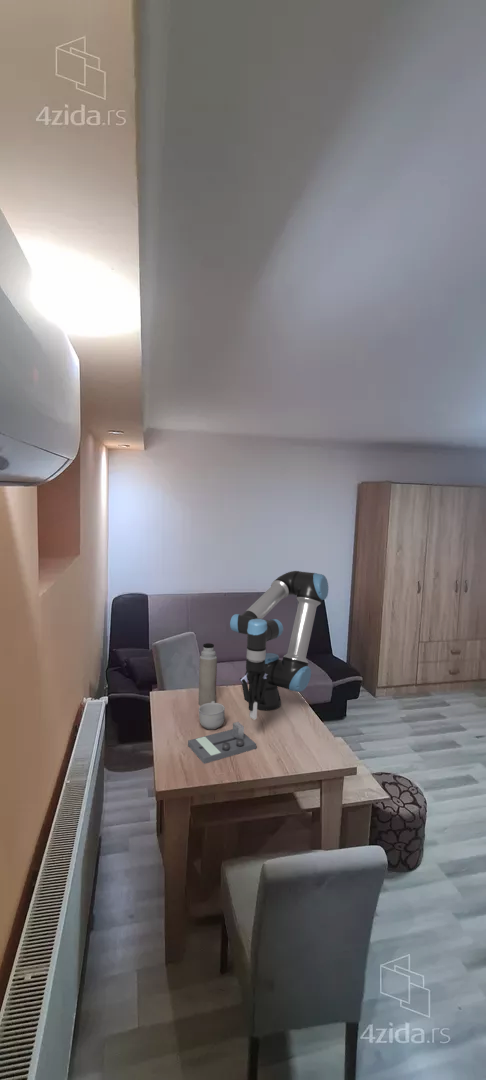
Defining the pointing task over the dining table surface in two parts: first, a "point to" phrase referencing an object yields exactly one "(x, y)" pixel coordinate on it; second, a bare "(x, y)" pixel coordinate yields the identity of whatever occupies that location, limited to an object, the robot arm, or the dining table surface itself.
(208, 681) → the thermos bottle
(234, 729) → the fader cap
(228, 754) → the console
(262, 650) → the robot arm
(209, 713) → the teacup
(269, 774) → the dining table surface
